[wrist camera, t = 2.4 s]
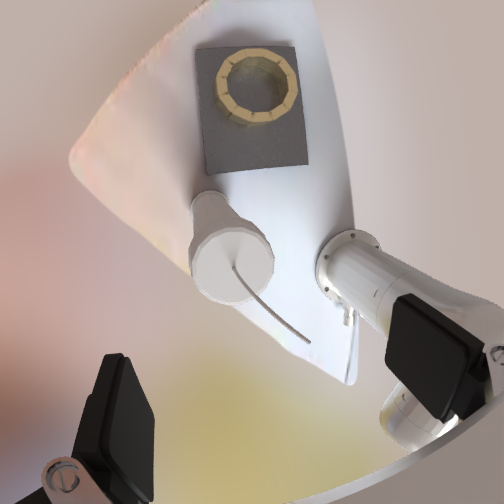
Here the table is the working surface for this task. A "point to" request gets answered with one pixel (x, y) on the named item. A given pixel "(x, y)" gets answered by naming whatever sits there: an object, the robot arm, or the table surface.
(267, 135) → the fitting base
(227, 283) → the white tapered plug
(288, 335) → the table surface
